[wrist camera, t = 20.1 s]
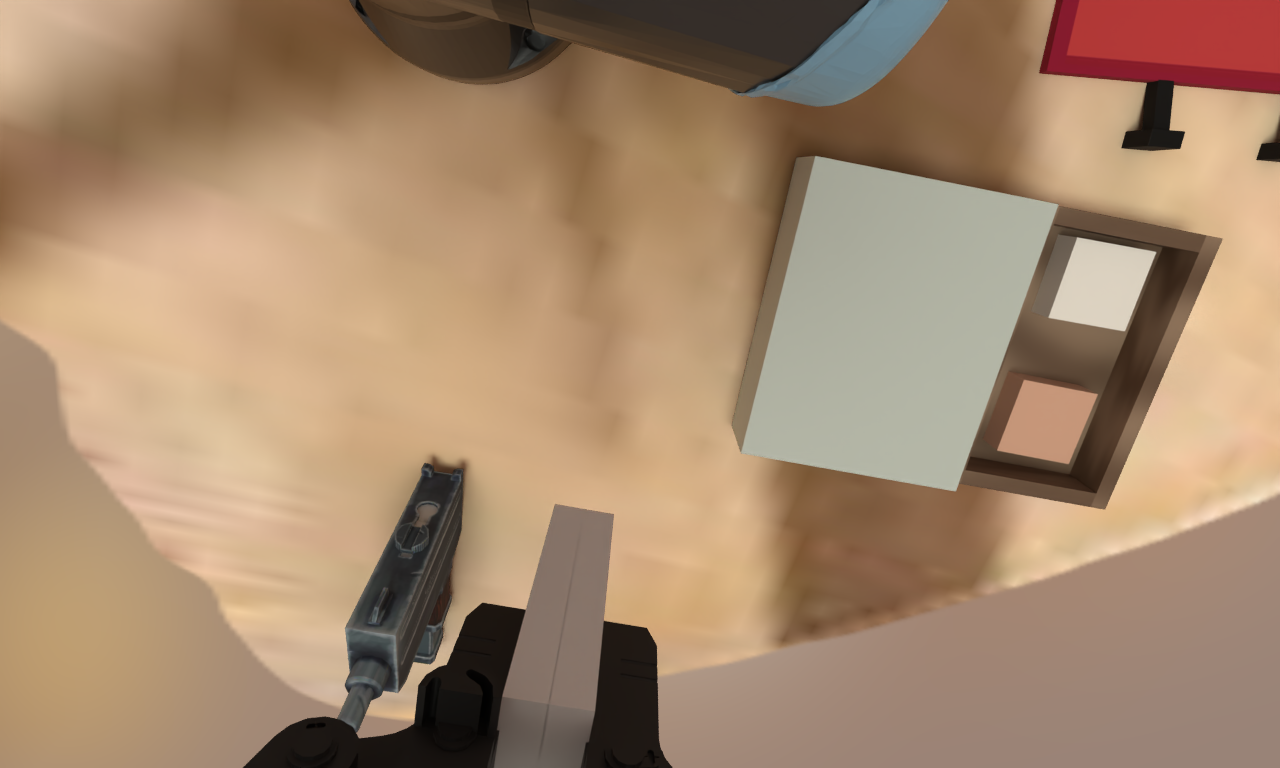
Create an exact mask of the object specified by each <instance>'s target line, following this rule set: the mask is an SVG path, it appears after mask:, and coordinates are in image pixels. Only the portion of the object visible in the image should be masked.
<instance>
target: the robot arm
mask: <svg viewBox="0 0 1280 768" xmlns="http://www.w3.org/2000/svg"><path fill="white" fill-rule="evenodd" d="M349 1H350V3H351V5H352V6H353V8H354V9H355V11H356V12H357V14H358V15H359V16H360V18H361V19H362V21H363V22H364V23H365V24H366V25H367V27H368V28H369V29H370V30H371V31H372V32H373V33H374V34H375V35H376V36H377V37H378V38H379V39H380V40H381V41H382V42H383V43H384V44H385V45H386V46H387V47H388V48H390V49H391V50H392V51H393V52H395V53H396V54H398V55H399V56H400V57H402V58H403V59H405V60H407V61H408V62H410V63H412V64H413V65H415V66H417V67H419V68H421V69H423V70H426V71H428V72H430V73H432V74H435V75H437V76H439V77H442V78H445V79H448V80H452V81H456V82H461V83H468V84H497V83H503V82H508V81H511V80H515V79H518V78H521V77H524V76H526V75H528V74H531V73H533V72H535V71H536V70H538V69H540V68H542V67H543V66H545V65H546V64H548V63H549V62H550V61H552V60H553V59H554V58H556V57H557V56H558V55H559V54H560V53H561V52H562V51H563V50H564V49H565V48H566V47H567V46H568V45H569V44H570V43H571V42H572V43H575V44H579V45H582V46H585V47H589V48H592V49H596V50H599V51H603V52H606V53H609V54H613V55H616V56H620V57H623V58H626V59H630V60H633V61H637V62H640V63H644V64H647V65H650V66H654V67H657V68H661V69H664V70H667V71H671V72H674V73H678V74H681V75H685V76H688V77H691V78H695V79H698V80H702V81H705V82H708V83H712V84H715V85H719V86H722V87H726V88H728V89H729V90H730V91H732V92H733V93H735V94H737V95H740V96H744V95H746V96H749V97H751V98H752V97H762V96H769V97H774V98H778V99H782V100H787V101H791V102H796V103H800V104H804V105H809V106H832V105H835V104H840V103H843V102H846V101H848V100H850V99H852V98H854V97H856V96H858V95H860V94H862V93H863V92H865V91H867V90H868V89H870V88H871V87H872V86H874V85H875V84H876V83H878V82H879V81H880V80H881V79H882V78H884V77H885V76H886V75H887V74H888V73H889V72H890V71H891V70H892V69H893V68H894V67H895V66H896V65H897V64H898V63H899V62H900V61H901V60H902V59H903V58H904V57H905V55H906V54H907V53H908V52H909V51H910V50H911V49H912V48H913V46H914V45H915V44H916V43H917V42H918V40H919V39H920V38H921V37H922V36H923V34H924V33H925V32H926V31H927V29H928V28H929V27H930V25H931V24H932V23H933V21H934V20H935V19H936V17H937V16H938V14H939V13H940V12H941V10H942V9H943V7H944V6H945V4H946V3H947V2H948V0H349ZM613 518H614V514H609V513H603V512H598V511H592V510H586V509H580V508H574V507H568V506H563V505H557V504H555V506H554V510H553V513H552V517H551V521H550V524H549V528H548V532H547V535H546V539H545V543H544V546H543V550H542V553H541V557H540V561H539V564H538V568H537V572H536V575H535V579H534V583H533V586H532V590H531V593H530V597H529V601H528V604H527V608H526V610H524V609H518V608H512V607H505V606H499V605H493V604H487V603H481V604H480V605H479V606H478V607H477V608H476V609H475V610H473V611H472V612H471V613H470V614H469V615H468V616H466V619H465V621H464V624H463V626H462V629H461V631H460V634H459V638H458V639H457V641H456V643H455V646H454V649H453V652H452V653H451V656H450V658H449V661H448V663H447V665H444V666H441V667H438V668H436V669H435V670H433V671H432V672H430V673H428V674H427V675H426V676H425V677H424V679H423V680H422V681H421V683H420V684H419V685H418V694H417V703H416V713H415V722H414V724H413V725H411V726H410V727H408V728H407V729H404V730H402V731H399V732H397V733H393V734H388V735H384V736H377V737H368V738H360V739H359V738H358V736H357V734H356V732H355V730H354V729H353V727H352V726H350V725H349V724H347V723H345V722H344V721H342V720H340V719H335V718H330V717H317V718H307V719H305V720H302V721H299V722H297V723H294V724H292V725H290V726H288V727H287V728H285V729H284V730H283V731H281V732H280V733H278V734H277V735H276V736H275V737H274V738H273V739H272V740H271V741H270V742H268V743H267V744H266V745H265V746H264V747H263V748H262V750H261V751H259V752H258V753H257V754H256V755H255V756H254V757H253V758H252V759H251V760H250V761H249V762H248V763H247V764H246V765H245V766H244V767H243V768H672V766H671V765H670V764H669V763H668V761H667V760H666V759H665V757H664V755H663V752H662V750H661V748H660V743H659V730H658V728H659V726H658V683H657V645H656V643H655V642H654V640H653V638H652V636H651V635H650V633H649V631H648V629H647V628H643V627H637V626H631V625H625V624H619V623H613V622H607V621H604V612H605V602H606V591H607V581H608V570H609V560H610V549H611V539H612V528H613Z"/></svg>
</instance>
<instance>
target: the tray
mask: <svg viewBox="0 0 1280 768" xmlns="http://www.w3.org/2000/svg"><path fill="white" fill-rule="evenodd" d="M1058 234H1059V235H1065V236H1071V237H1078V238H1083V239H1089V240H1094V241H1100V242H1105V243H1110V244H1116V245H1121V246H1127V247H1132V248H1137V249H1143V250H1148V251H1154V252H1156V254H1155V257H1154V259H1153V262H1152V264H1151V267H1150V269H1149V272H1148V275H1147V277H1146V280H1145V282H1144V285H1143V287H1142V290H1141V292H1140V295H1139V297H1138V300H1137V302H1136V305H1135V307H1134V310H1133V312H1132V315H1131V317H1130V320H1129V322H1128V325H1127V327H1126V330H1125V331H1120V330H1114V329H1108V328H1103V327H1097V326H1092V325H1086V324H1080V323H1075V322H1069V321H1064V320H1058V319H1052V318H1048V317H1045V316H1042V315H1039V314H1037V313H1034V312H1031V311H1032V308H1033V305H1034V302H1035V299H1036V296H1037V294H1038V291H1039V288H1040V285H1041V282H1042V279H1043V276H1044V274H1045V271H1046V268H1047V265H1048V262H1049V259H1050V257H1051V254H1052V251H1053V248H1054V245H1055V242H1056V240H1057V237H1058ZM1221 242H1222V238H1217V237H1211V236H1206V235H1201V234H1196V233H1191V232H1186V231H1181V230H1176V229H1171V228H1166V227H1161V226H1156V225H1151V224H1146V223H1141V222H1136V221H1131V220H1126V219H1121V218H1116V217H1111V216H1106V215H1101V214H1096V213H1091V212H1086V211H1081V210H1076V209H1071V208H1066V207H1061V206H1058V208H1057V210H1056V213H1055V216H1054V219H1053V222H1052V224H1051V227H1050V230H1049V233H1048V236H1047V238H1046V241H1045V244H1044V247H1043V249H1042V252H1041V255H1040V258H1039V261H1038V263H1037V266H1036V269H1035V272H1034V275H1033V277H1032V280H1031V283H1030V286H1029V288H1028V291H1027V294H1026V297H1025V300H1024V302H1023V305H1022V308H1021V311H1020V314H1019V316H1018V319H1017V322H1016V325H1015V328H1014V330H1013V333H1012V336H1011V339H1010V341H1009V344H1008V347H1007V350H1006V353H1005V355H1004V358H1003V361H1002V364H1001V367H1000V369H999V372H998V375H997V378H996V380H995V383H994V386H993V389H992V392H991V394H990V397H989V400H988V403H987V406H986V408H985V411H984V414H983V417H982V419H981V422H980V425H979V428H978V431H977V433H976V436H975V439H974V442H973V445H972V447H971V450H970V453H969V456H968V459H967V461H966V464H965V467H964V470H963V472H962V475H961V478H960V481H959V484H965V485H970V486H976V487H981V488H987V489H993V490H998V491H1004V492H1009V493H1015V494H1021V495H1026V496H1032V497H1037V498H1043V499H1049V500H1054V501H1060V502H1066V503H1071V504H1077V505H1082V506H1088V507H1094V508H1099V509H1105V508H1106V506H1107V504H1108V502H1109V499H1110V497H1111V495H1112V492H1113V490H1114V488H1115V485H1116V483H1117V481H1118V479H1119V476H1120V474H1121V472H1122V469H1123V467H1124V465H1125V462H1126V460H1127V458H1128V456H1129V453H1130V451H1131V449H1132V446H1133V444H1134V442H1135V439H1136V437H1137V435H1138V433H1139V430H1140V428H1141V426H1142V423H1143V421H1144V419H1145V416H1146V414H1147V412H1148V410H1149V407H1150V405H1151V403H1152V400H1153V398H1154V396H1155V393H1156V391H1157V389H1158V387H1159V384H1160V382H1161V380H1162V377H1163V375H1164V373H1165V370H1166V368H1167V366H1168V364H1169V361H1170V359H1171V357H1172V354H1173V352H1174V350H1175V347H1176V345H1177V343H1178V341H1179V338H1180V336H1181V334H1182V331H1183V329H1184V327H1185V324H1186V322H1187V320H1188V318H1189V315H1190V313H1191V311H1192V308H1193V306H1194V304H1195V301H1196V299H1197V297H1198V295H1199V292H1200V290H1201V288H1202V285H1203V283H1204V281H1205V278H1206V276H1207V274H1208V272H1209V269H1210V267H1211V265H1212V262H1213V260H1214V258H1215V255H1216V253H1217V251H1218V249H1219V246H1220V244H1221ZM1008 371H1010V372H1015V373H1021V374H1026V375H1031V376H1036V377H1041V378H1046V379H1051V380H1056V381H1061V382H1066V383H1071V384H1076V385H1080V386H1082V387H1084V388H1086V389H1088V390H1090V391H1092V392H1094V393H1096V394H1098V395H1097V398H1096V400H1095V403H1094V405H1093V407H1092V410H1091V412H1090V415H1089V417H1088V419H1087V422H1086V424H1085V426H1084V429H1083V431H1082V434H1081V436H1080V438H1079V441H1078V443H1077V446H1076V448H1075V450H1074V453H1073V455H1072V457H1071V460H1070V462H1069V464H1065V463H1060V462H1055V461H1049V460H1044V459H1039V458H1034V457H1028V456H1023V455H1018V454H1013V453H1008V452H1002V451H997V450H996V449H995V448H993V447H992V446H991V445H990V444H988V443H987V442H986V441H985V440H983V438H984V435H985V432H986V430H987V427H988V424H989V422H990V419H991V416H992V414H993V411H994V408H995V405H996V403H997V400H998V397H999V395H1000V392H1001V389H1002V387H1003V384H1004V381H1005V379H1006V376H1007V373H1008Z"/></svg>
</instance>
